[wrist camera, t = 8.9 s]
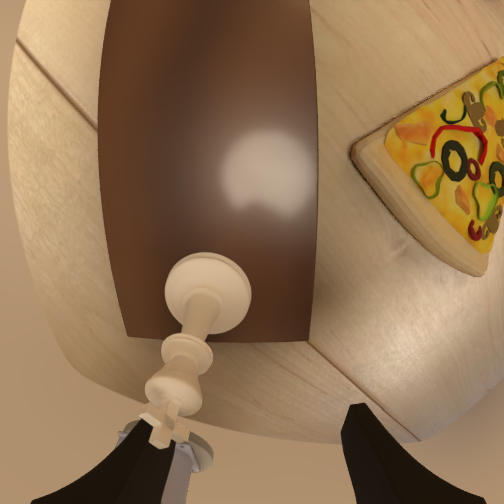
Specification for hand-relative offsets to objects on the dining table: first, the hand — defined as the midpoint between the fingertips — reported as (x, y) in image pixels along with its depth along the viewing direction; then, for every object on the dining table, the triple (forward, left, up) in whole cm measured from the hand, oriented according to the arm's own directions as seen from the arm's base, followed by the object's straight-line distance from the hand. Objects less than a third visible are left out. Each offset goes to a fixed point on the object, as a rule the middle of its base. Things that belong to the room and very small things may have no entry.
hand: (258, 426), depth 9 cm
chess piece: (-3, +2, -8) cm, 8 cm away
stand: (-3, +19, -10) cm, 22 cm away
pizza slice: (+17, +13, -11) cm, 24 cm away
